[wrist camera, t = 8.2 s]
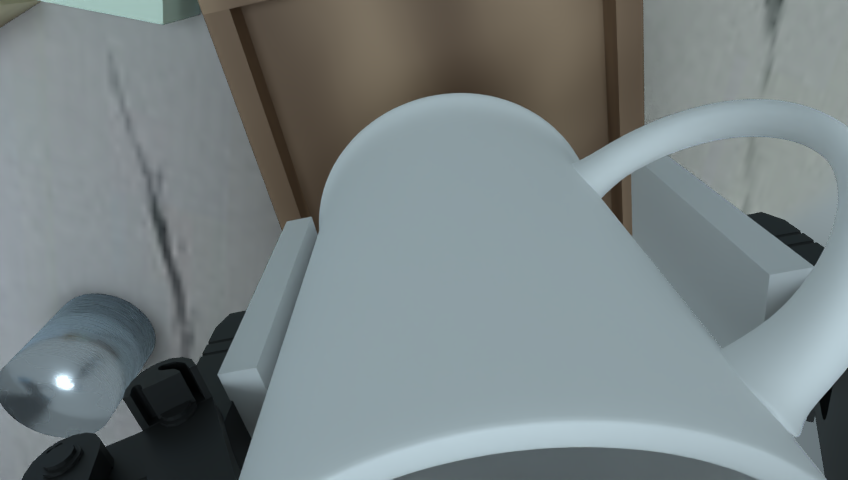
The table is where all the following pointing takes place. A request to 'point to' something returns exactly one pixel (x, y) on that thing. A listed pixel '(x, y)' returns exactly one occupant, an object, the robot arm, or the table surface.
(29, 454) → the table surface
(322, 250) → the mug
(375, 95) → the tray
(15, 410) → the grey tin
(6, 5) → the oak block
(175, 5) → the sage block
